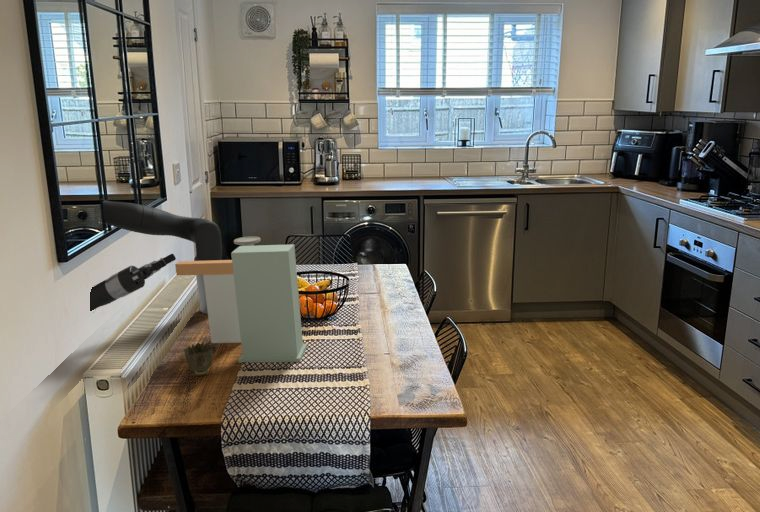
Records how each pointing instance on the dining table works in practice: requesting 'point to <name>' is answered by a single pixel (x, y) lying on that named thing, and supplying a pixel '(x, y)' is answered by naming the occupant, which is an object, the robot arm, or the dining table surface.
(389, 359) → the dining table surface
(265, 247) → the stand
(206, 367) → the cup
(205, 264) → the bar
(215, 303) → the post
